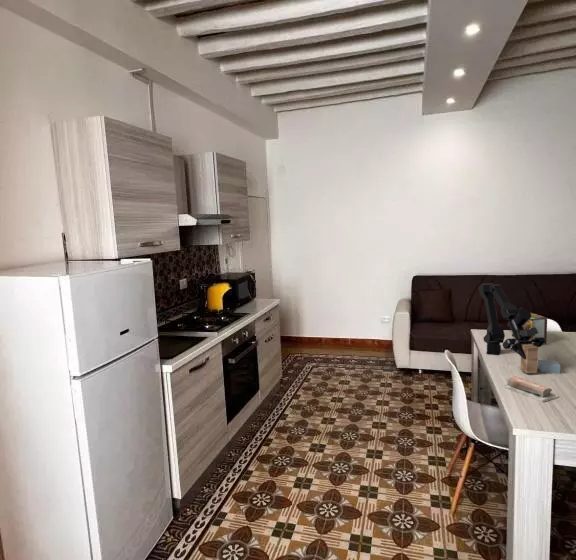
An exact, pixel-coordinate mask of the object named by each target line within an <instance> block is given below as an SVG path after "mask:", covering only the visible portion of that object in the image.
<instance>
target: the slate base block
mask: <svg viewBox="0 0 576 560" xmlns="http://www.w3.org/2000/svg"><path fill="white" fill-rule="evenodd" d="M537 369H539V371H540V373H549V374H550V373H551V374H559V373H560V374H561V365H560V363H559V362H558V360H552V359H551V360H550V359H539V358H538V362H537Z"/></svg>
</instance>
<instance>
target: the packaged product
mask: <svg viewBox="0 0 576 560" xmlns="http://www.w3.org/2000/svg"><path fill="white" fill-rule="evenodd" d="M504 389H507V390H510V391H512V392H514V393H516V394H520V395H522V396H524V395H525V397H526V398H529V397H530V398H529V399H531V400H535V401H537V400H538V402H540V401H541V402H540V403H544V402H547V401H551V400H554V399H557V398H558V397H559V395H557V394H554V393H553V392H552V391H553V389H552V388H550V387H548V386H546V385H542V384H539V383H537V382H534V381H531V380H529V379H527V378H526V379H525V378H523V377H519V376H513V377H510V378H507V384H505V385H504Z"/></svg>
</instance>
